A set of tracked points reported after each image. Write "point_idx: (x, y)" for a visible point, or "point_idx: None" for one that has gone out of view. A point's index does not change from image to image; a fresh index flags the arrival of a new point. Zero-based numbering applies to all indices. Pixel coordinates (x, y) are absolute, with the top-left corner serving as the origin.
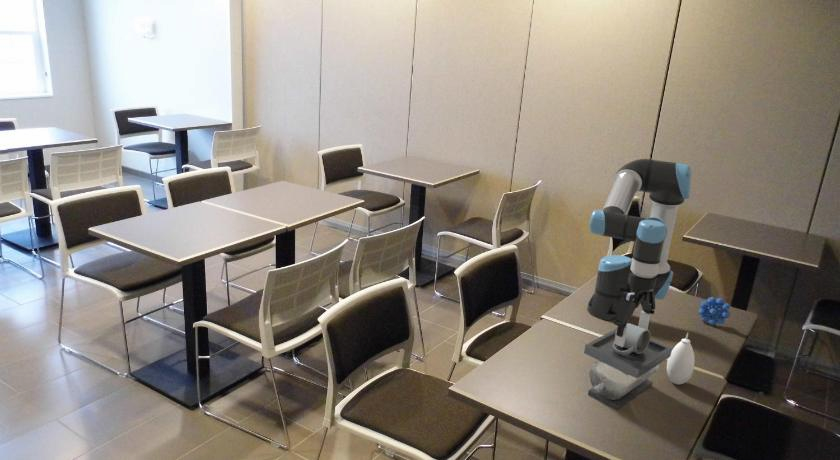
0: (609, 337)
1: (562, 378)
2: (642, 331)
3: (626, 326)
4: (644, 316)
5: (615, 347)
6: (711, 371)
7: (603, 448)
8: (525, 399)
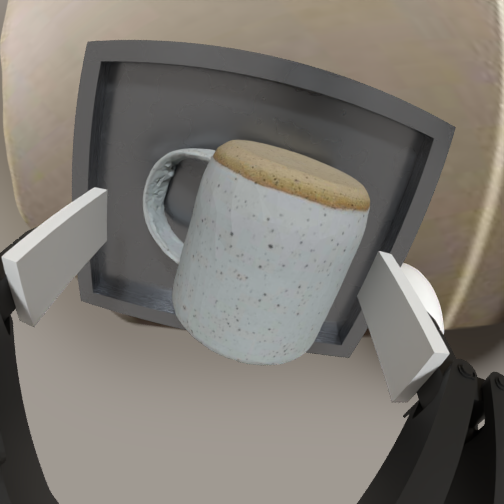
0: (305, 90)
1: (194, 7)
2: (218, 351)
3: (28, 320)
4: (402, 357)
5: (168, 167)
6: (456, 314)
7: (27, 214)
8: (48, 17)
